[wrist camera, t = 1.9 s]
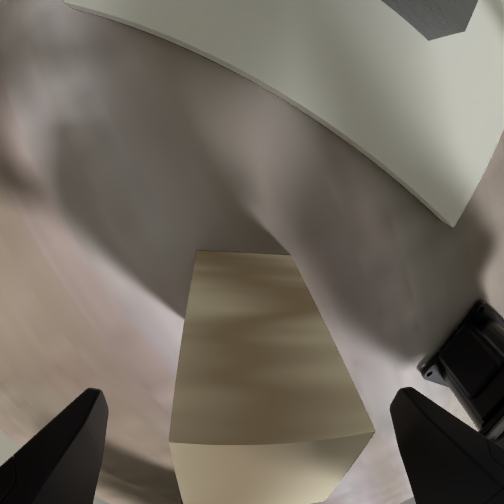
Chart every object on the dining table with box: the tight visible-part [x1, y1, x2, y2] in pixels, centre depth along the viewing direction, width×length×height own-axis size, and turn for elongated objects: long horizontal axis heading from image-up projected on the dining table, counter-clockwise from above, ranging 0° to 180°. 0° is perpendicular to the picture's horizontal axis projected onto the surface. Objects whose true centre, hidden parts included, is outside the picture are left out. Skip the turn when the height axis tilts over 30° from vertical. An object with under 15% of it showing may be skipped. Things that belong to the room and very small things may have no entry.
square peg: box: [169, 250, 375, 504], centre depth 10 cm, size 4×4×9 cm
